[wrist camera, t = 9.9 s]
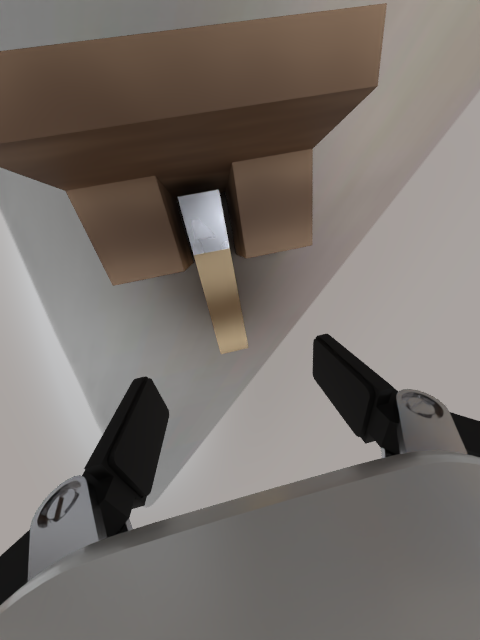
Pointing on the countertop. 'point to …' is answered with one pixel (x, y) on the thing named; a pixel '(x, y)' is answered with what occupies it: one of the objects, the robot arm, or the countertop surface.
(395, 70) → the countertop surface
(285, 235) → the wooden two-prong bracket
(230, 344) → the silver and tan rail
